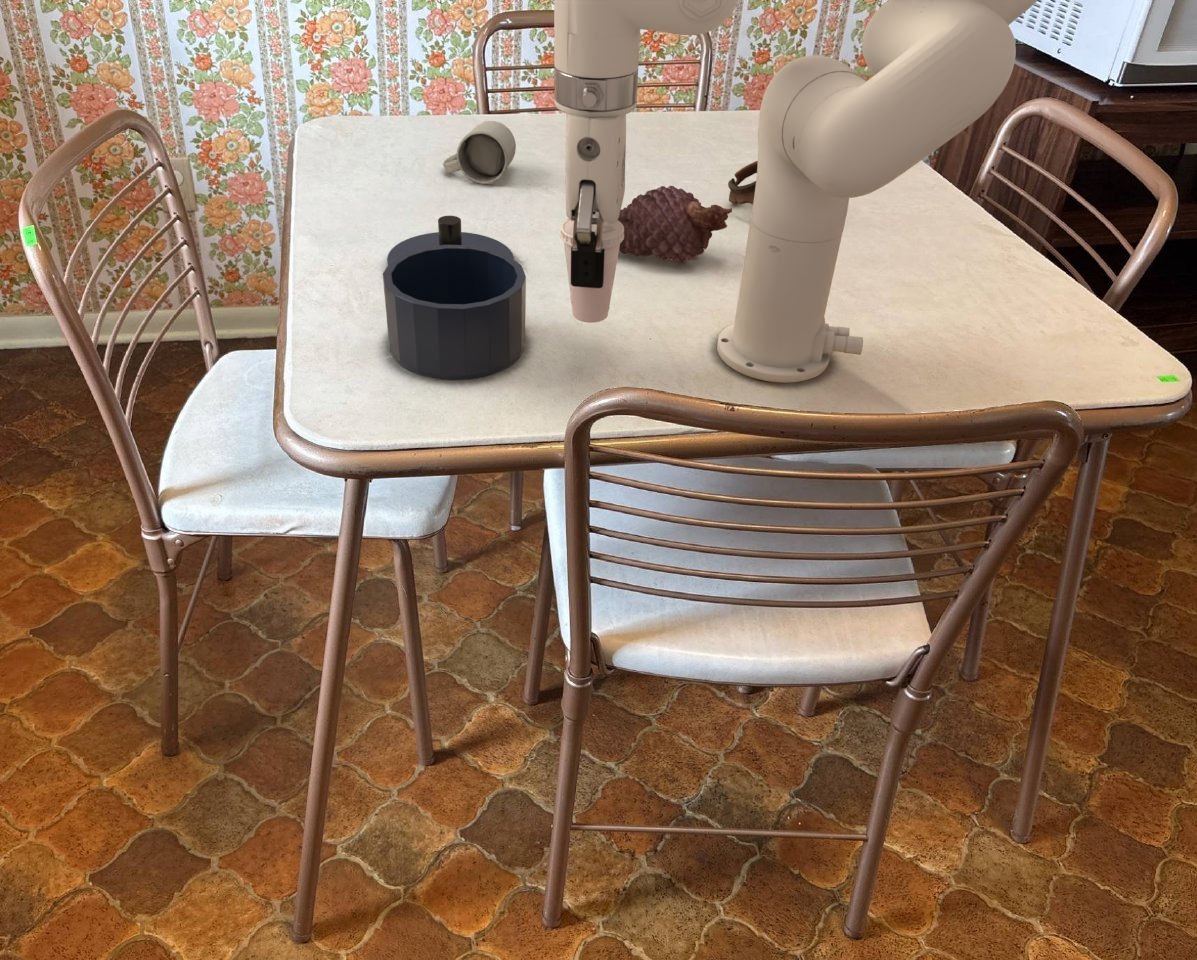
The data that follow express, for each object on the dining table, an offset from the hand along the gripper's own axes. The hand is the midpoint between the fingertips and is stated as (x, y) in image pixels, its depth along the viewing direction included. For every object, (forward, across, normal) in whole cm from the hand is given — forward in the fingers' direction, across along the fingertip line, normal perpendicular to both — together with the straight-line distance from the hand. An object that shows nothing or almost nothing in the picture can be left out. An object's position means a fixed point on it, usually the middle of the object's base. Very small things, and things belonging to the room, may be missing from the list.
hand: (591, 268), depth 100 cm
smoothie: (+5, 0, 0) cm, 5 cm away
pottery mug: (+13, +49, -20) cm, 54 cm away
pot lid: (+11, +21, +20) cm, 31 cm away
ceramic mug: (+12, +52, +23) cm, 58 cm away
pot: (+11, +2, +15) cm, 19 cm away
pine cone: (+12, +30, -6) cm, 33 cm away
